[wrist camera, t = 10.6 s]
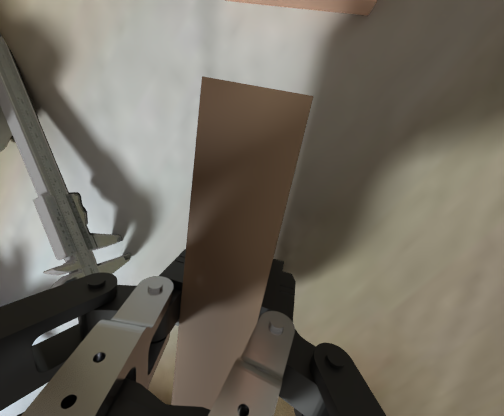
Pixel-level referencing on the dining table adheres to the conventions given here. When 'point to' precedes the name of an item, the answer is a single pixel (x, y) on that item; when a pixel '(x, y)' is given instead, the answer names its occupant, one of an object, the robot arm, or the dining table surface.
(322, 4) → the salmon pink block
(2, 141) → the ceramic sculpture
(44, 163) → the caliper
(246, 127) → the walnut bar
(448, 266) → the dining table surface
